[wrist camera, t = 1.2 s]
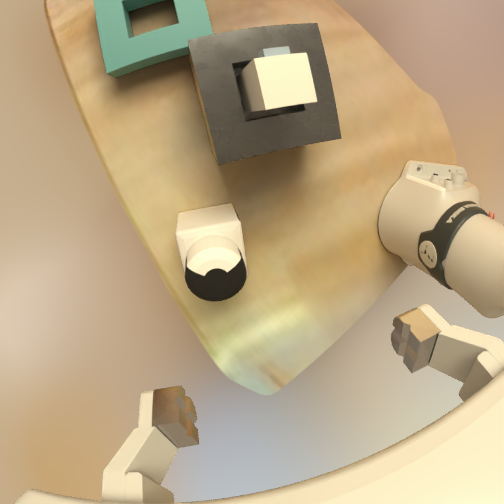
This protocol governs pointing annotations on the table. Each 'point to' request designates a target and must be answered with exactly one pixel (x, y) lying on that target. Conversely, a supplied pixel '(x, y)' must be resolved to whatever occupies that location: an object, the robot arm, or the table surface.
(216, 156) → the dark grey square frame
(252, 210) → the table surface
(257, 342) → the table surface
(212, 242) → the medicine bottle
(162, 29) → the block
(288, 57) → the plug
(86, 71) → the table surface
